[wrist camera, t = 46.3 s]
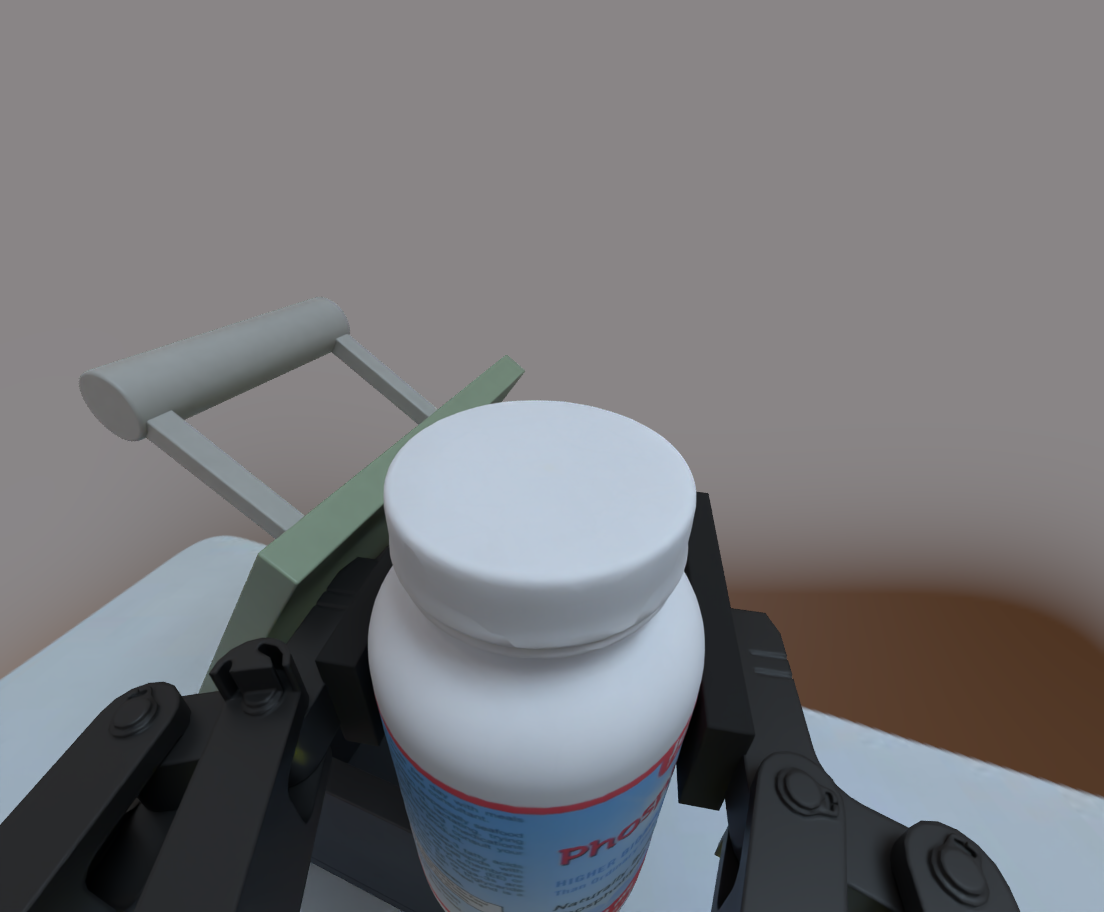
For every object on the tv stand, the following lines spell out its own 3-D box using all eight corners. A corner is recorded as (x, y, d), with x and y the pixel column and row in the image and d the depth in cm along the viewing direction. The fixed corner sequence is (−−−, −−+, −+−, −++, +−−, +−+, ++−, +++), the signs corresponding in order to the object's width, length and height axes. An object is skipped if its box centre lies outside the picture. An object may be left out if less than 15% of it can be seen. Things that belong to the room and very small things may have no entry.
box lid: (525, 370, 19) (367, 233, 18) (297, 585, 10) (-50, 314, 9) (404, 527, 27) (289, 434, 26) (210, 734, 17) (19, 595, 16)
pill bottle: (608, 1030, 10) (738, 750, 4) (369, 879, 12) (203, 532, 6) (666, 746, 15) (767, 420, 9) (490, 671, 17) (469, 362, 10)
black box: (592, 702, 29) (606, 587, 24) (513, 970, 20) (507, 879, 14) (420, 642, 32) (399, 529, 27) (281, 846, 23) (204, 734, 17)
